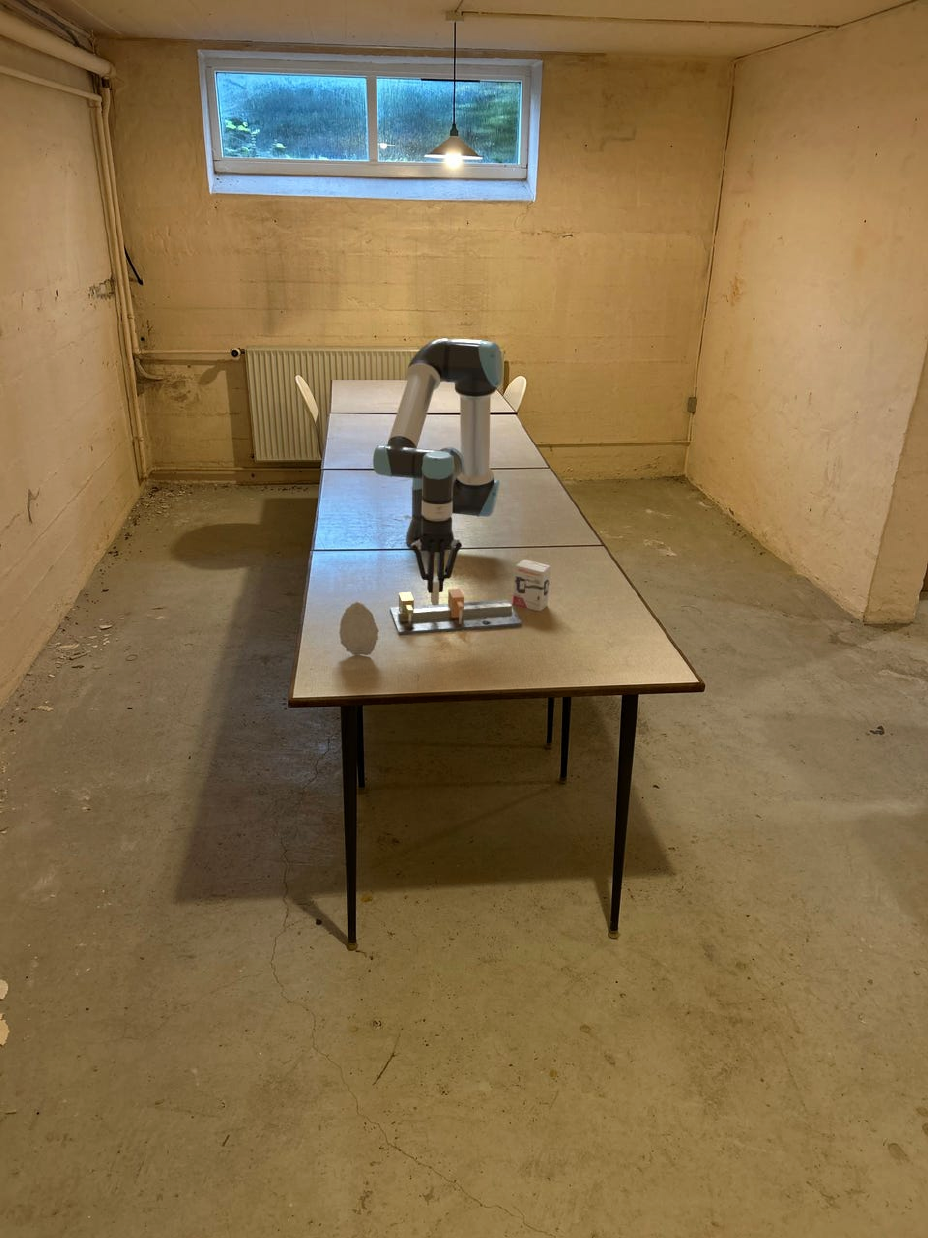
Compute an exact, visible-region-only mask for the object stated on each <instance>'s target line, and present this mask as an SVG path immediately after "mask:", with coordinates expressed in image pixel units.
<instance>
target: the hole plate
mask: <svg viewBox="0 0 928 1238" xmlns="http://www.w3.org/2000/svg"><path fill="white" fill-rule="evenodd" d="M499 603H510V602H509V600H508V599H497V600H484V601H469V602H468V601H467V602H466V601H465V602H464V606H470V605H485V604H499ZM441 607H448V603H441V604H440V603H439V605H434V606H433V605H432V604H426V605H425V604H424V605H414V609H426V608H441ZM389 610H390V614H391V617H392V619H393V621H394V625H395V628H396V630H397V633H398V636H410V635H411V636H412V635H421V634H422V635H424V634H437V633H438V634H439V633H450V632H461V631H462V632H463V631H475V630H476V631H477V630H490V629H504V628H517V627H522V625H523V622H522V621H521V619H520V618H519V616H518V614H517V613H516V611H515V610H514V609H513V607H512V613H503V614H489V615H475V616H463V617H462V624H459V618H451V617H447V618H433V619H419V620H413V621H411V627H410V628H409V627H408V625H409V621H404V622H402V621H399V619H398V610H399V606H395V607H389Z"/></svg>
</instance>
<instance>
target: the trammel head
mask: <svg viewBox="0 0 928 1238" xmlns="http://www.w3.org/2000/svg"><path fill="white" fill-rule="evenodd" d="M447 592H448V595H447V596H448V597H447V604H448V607H450V608H451V618H459V624H462V617H463V611H464V603H465V596H464V594H463V593H462V591H461V588H452V589H448V591H447Z"/></svg>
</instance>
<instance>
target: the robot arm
mask: <svg viewBox="0 0 928 1238" xmlns="http://www.w3.org/2000/svg"><path fill="white" fill-rule="evenodd" d="M405 378H406V381H407V382H406V385H405V388H404V391H403V394H402V397H401V400H400V403H399V406H398V408H397V409H398V410H397V413H396V415H395V418H394V421H393V425H392V428H391V432H390V434H389V437H388V441H387V444H379V445H377V446H376V447H375V449H374V452H373V457H372V465H373V470H374V472H375V473H376V474H377V475H380V476H386V477H390V478H392V477H394V478H405V479H407V478H408V479H412V484H411V485H412V486H411V520H410V522H409V525H408V528H407V531H406V533H405V542H406V544H407V545H408V547H409V546H410V547H411V549H412V551H413V552H414V555H415V559H416V563H417V566H418V571H419V576H420V578H421V579H422V580H423V581H427V585H426V587H427V588H426V589H427V592H428V593H429V594H430V602H431V605H433V606H434V605H439V604H440V603H439V602H440V601H439V599H440V593H443V591H444V582H445V580H446V579H447V580H448V579H451V577H452V573H453V570H454V566H455V563H456V559H457V557H458V552H459V551H460V549H461V548H462V547H463V544H462V542H461V541H460V540H459V539H455V535H454V531H453V517H452V516H453V515H462V516H464V515H465V516H473V517H474V516H475V517H477V518H479V517H485V518H486V517H487V518H488V517H491V516H492V515H493V513H494V510H495V508H496V503H497V500H498V495H499V490H500V483H501V482H500V480H499V479H497V478H495V473H494V471H493V470H492V469H491V468H490V450H491V443H490V442H491V399H492V397H491V396H492V395H494V394H495V392H496V391H497V387H499V386H501V384H502V380H503V358H502V351H501V348H500V346H499V344H497V342H494V341H488V340H484V339H480V340H479V339H465V338H450V337H441V338H436V339H434V340H432V341H429V342H428V343H426V344H425V345H423V346H422V347H421V348H420V349H419V350H418V351H417V352H416V353H415V354H414V356H413V357H412V358H411V360H410V362H409V363H408V365H407V369H406V373H405ZM443 382H445V383H453V384H454V391H455V393H456V394H458V395H459V396H460V397H459V399H460V400H459V401H460V402H459V403H460V404H459V405H460V406H459V407H460V412H459V413H460V414H459V415H460V416H459V417H460V420H459V421H460V422H459V423H460V451H459V450H458V449H457V448H455V447H453V446H452V447H451V446H447V447H446V446H445V447H443V448H441V449H429V448H419V447H418V445H419V442H420V438H421V436H422V432H423V430H424V429H423V428H424V425H425V421H426V419H427V414H428V411H429V408H430V405H431V401H432V398H433V396H434V392H435V390H437V389H438V388H439V386H440V384H441V383H443ZM449 548H450V550H449V553H448V554H449V555H448V558H447V561H446V565H445V555H446V551H447V549H449ZM421 550H422V551H427V563H426V565H427V571H426V569H425V565H424V561H423V557H422V553H421ZM436 553H437V566H436V567H437V569H436V570H437V571H436V577H435V576H434V574H435V555H436Z"/></svg>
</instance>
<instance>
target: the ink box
mask: <svg viewBox="0 0 928 1238" xmlns="http://www.w3.org/2000/svg"><path fill="white" fill-rule="evenodd" d="M551 570H552V566H551V565H549V564H545V563H541V562H538V561H534V560H533V561H532V560H529V559H521V561H520V562H518V563H517V564H516V565H515V572H514V586H513V599H512V605H515V606H518V607H522V608H526V609H530V610H534V611H537V612H542V611H543V610H545V608H546V607H547V606H548V602H549V593H550V592H549V591H550V583H551V581H550V580H551Z"/></svg>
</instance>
